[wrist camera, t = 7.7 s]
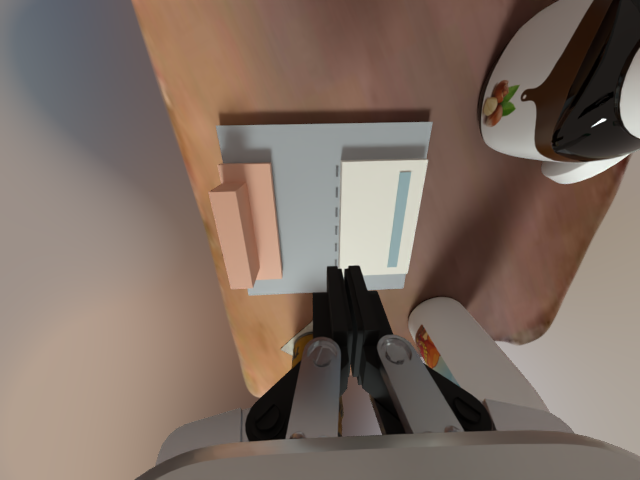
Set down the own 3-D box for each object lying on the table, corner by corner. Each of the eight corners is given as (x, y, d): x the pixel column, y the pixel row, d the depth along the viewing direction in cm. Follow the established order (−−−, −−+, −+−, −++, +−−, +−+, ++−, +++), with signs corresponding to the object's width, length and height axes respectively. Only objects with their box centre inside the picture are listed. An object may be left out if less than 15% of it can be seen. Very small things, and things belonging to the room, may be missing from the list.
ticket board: (219, 125, 20) (209, 125, 18) (427, 122, 21) (440, 121, 19) (250, 289, 28) (246, 303, 26) (400, 283, 29) (407, 295, 27)
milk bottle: (421, 290, 29) (601, 545, 11) (473, 300, 30) (710, 545, 13) (397, 332, 32) (509, 584, 15) (445, 340, 34) (603, 581, 16)
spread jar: (500, 13, 18) (778, -153, 7) (631, 28, 19) (1049, -102, 8) (452, 172, 23) (573, 208, 12) (556, 178, 24) (751, 216, 13)
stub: (221, 163, 20) (200, 171, 16) (271, 162, 20) (262, 170, 17) (243, 275, 25) (231, 302, 22) (282, 274, 26) (278, 299, 22)
